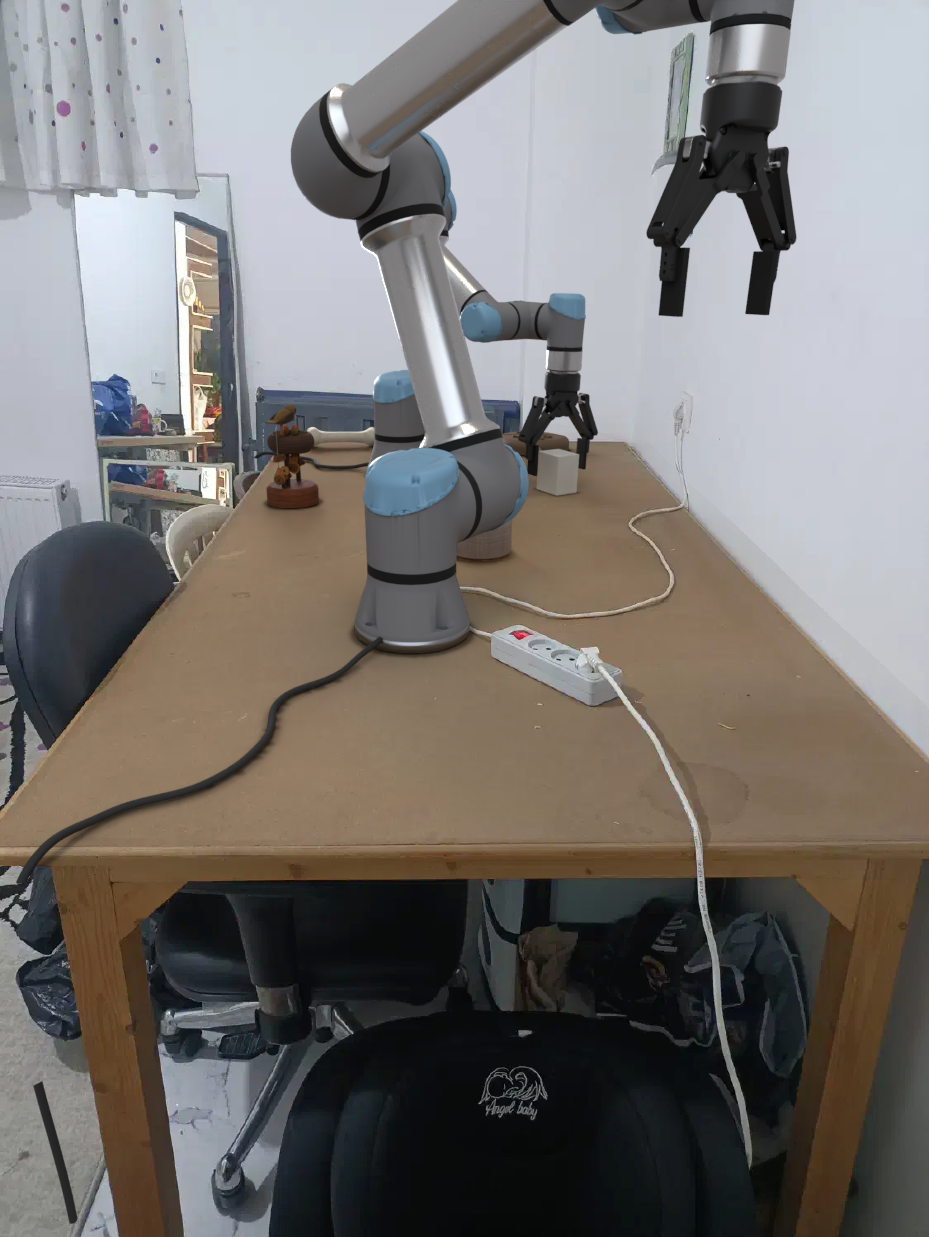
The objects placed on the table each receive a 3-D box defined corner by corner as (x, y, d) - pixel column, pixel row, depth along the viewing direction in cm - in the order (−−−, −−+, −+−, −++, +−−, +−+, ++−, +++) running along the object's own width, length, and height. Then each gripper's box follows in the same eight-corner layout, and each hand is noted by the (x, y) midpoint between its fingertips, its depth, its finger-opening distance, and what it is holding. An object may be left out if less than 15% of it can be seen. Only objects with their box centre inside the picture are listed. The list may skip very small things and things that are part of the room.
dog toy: (379, 443, 235) (378, 424, 233) (380, 447, 230) (380, 428, 228) (305, 444, 232) (304, 425, 230) (305, 448, 226) (304, 429, 225)
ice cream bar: (498, 464, 211) (498, 448, 209) (490, 443, 237) (490, 428, 235) (581, 465, 212) (583, 448, 210) (564, 444, 238) (565, 429, 236)
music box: (311, 511, 168) (297, 408, 160) (258, 513, 169) (241, 411, 162) (331, 492, 182) (318, 397, 174) (282, 494, 183) (267, 400, 176)
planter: (440, 545, 148) (440, 491, 144) (498, 541, 151) (500, 488, 148) (458, 564, 139) (459, 507, 135) (520, 559, 142) (522, 503, 138)
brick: (556, 486, 192) (558, 448, 189) (576, 492, 186) (579, 454, 183) (536, 488, 189) (538, 451, 186) (556, 495, 183) (558, 456, 180)
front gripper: (792, 106, 92) (762, 312, 100) (622, 76, 80) (604, 315, 88) (853, 96, 87) (817, 315, 95) (681, 61, 74) (657, 318, 82)
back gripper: (596, 367, 187) (588, 462, 195) (504, 372, 174) (500, 474, 183) (619, 371, 181) (610, 469, 190) (526, 376, 169) (521, 481, 177)
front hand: (715, 315), depth 91 cm, fingers open, 13 cm apart
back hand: (556, 471), depth 186 cm, fingers open, 13 cm apart
